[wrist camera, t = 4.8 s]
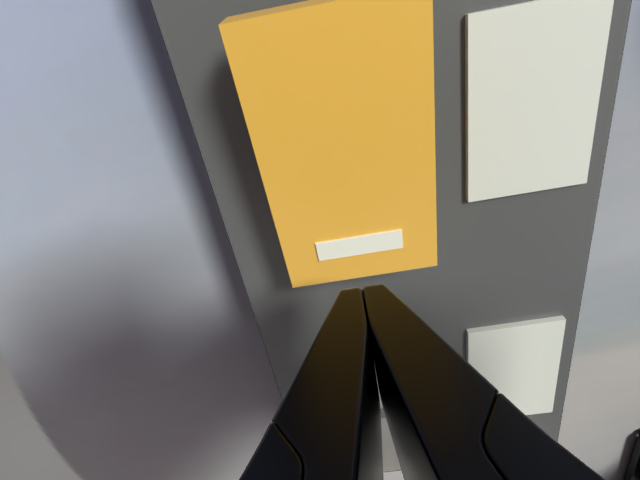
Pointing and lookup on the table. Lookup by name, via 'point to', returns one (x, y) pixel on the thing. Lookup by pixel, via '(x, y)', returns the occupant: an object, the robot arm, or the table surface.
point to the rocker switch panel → (447, 184)
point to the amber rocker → (342, 131)
